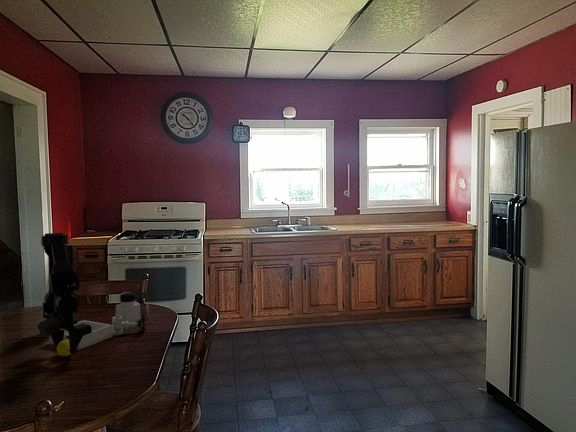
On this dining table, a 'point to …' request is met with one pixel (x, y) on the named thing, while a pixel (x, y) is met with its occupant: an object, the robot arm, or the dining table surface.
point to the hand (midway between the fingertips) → (65, 352)
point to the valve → (125, 324)
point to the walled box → (91, 334)
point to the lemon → (63, 348)
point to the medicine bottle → (128, 307)
